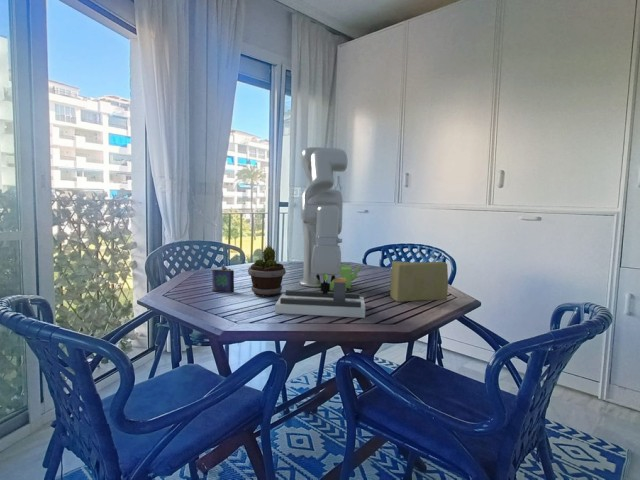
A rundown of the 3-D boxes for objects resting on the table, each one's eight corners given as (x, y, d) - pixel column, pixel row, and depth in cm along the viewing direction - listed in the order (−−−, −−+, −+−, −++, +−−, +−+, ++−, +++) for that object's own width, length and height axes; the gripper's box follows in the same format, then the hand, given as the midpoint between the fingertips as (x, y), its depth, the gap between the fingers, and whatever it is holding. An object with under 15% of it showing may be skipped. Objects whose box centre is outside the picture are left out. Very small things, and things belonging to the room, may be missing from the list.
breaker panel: (282, 301, 144) (282, 289, 143) (363, 305, 142) (363, 292, 141) (275, 313, 129) (275, 299, 128) (365, 317, 127) (365, 304, 126)
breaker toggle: (333, 298, 137) (334, 277, 136) (345, 298, 137) (345, 278, 136) (333, 302, 132) (334, 280, 131) (344, 302, 132) (345, 281, 131)
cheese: (440, 296, 159) (443, 260, 158) (451, 302, 150) (454, 264, 148) (389, 296, 156) (391, 259, 155) (396, 302, 147) (398, 263, 145)
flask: (210, 291, 155) (211, 264, 154) (214, 289, 158) (214, 263, 157) (232, 292, 154) (232, 266, 152) (235, 291, 157) (235, 265, 155)
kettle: (362, 289, 166) (363, 264, 164) (339, 295, 156) (340, 267, 154) (337, 283, 176) (338, 259, 175) (314, 287, 166) (315, 262, 165)
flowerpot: (279, 300, 145) (280, 247, 143) (241, 296, 148) (241, 245, 146) (290, 291, 159) (291, 243, 157) (255, 288, 162) (255, 241, 160)
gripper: (348, 241, 136) (346, 292, 138) (306, 239, 137) (305, 290, 139) (348, 243, 128) (346, 297, 130) (304, 242, 129) (302, 295, 132)
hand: (325, 293), depth 135 cm, fingers closed
